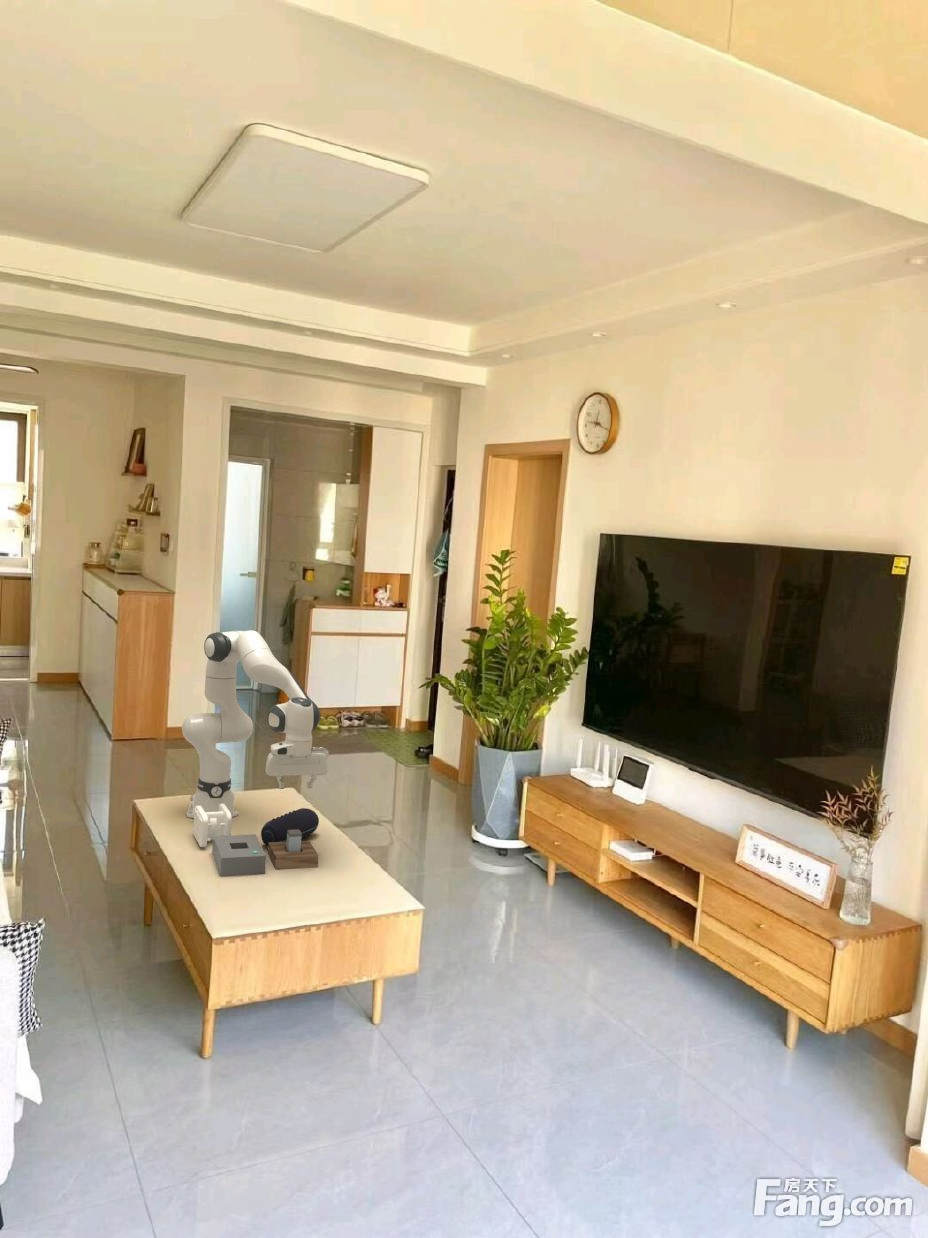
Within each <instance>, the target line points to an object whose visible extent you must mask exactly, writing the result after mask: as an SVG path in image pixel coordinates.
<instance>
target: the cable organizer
mask: <svg viewBox="0 0 928 1238" xmlns="http://www.w3.org/2000/svg"><path fill="white" fill-rule="evenodd" d="M232 819H233V817H232V816H231V813H230V811H229V810H228V809H227V807H226V806H225V804H219V810H218V812H205V811H204V810H203V808H202V807H201V806H195V808H194V818H193V829H192V830H193V831H192V833H193V836H194V838H195V840H196V842H197V844H198V845H199V847H200V848H206V847H207V844H208V842H211V840H213V836H228V835H231V832H232V821H233V820H232Z"/></svg>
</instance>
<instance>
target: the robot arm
mask: <svg viewBox="0 0 928 1238" xmlns="http://www.w3.org/2000/svg"><path fill="white" fill-rule="evenodd" d="M203 650H204V653H205V656H206V658H207V662H206V667H205V681H204V697H205V698H206V700H207V701H208V702H210V703H212V704H213V705H215V706H217V707H219V712H209V713H208V712H203V713H202V712H199V713H196V714H191V715H188V716H187V717H185V719H184V720H183V723H182V725H181V733H182V736H183V738H184V739H185V740H186V741H187V742H188V743H190V744H191V745H192V747H194V749H195V750H196V752H197V754H198V758H199V777H198V780H197V788H196V790H195V793H194V794H190V797H189V800H190V802H189V805H188V808H187V812H186V817H187V818H190V819H194V808H195V806H201V807H202V808H203V810H204V811H205V812H218V810H219V804H225V806H226V807H227V809H228V810H229V811H230V813H231V816H232V818H233V817H236V816H238V815H239V812H238V810H236V809H235V793H234V792H233V791H232V790H231V788H232V779H231V773H232V772H231V770H232V759H231V757H230V756H229V755H228V754H227V753H226V752H224V751H222V750H219V749H217V744H220V743H221V744H223V743H225V744H226V743H239V742H243V741H247V740H249V739H250V738H251V736H252V734H253V732H254V722H253V720H252V718H251V717H250V716H249V715H248V714H247V713H246V712H244V710H243V709H242V708H241V706H240V705H239V702H238V698H237V676H238V675H237V669H238V668H237V667H238V666H237V665H238V663H239V662H240V665H241V666H242V668H243V671H244V672H245V675H247V677H248V678H249V679H250V680H252V682H255V683H259V684H264V685H268V686H273V687H275V688H278V689H280V690H282V691H283V692H284V694H285V695H286V696H287V698H288V701H287V702H284V703H279V704H275V705H273V706H272V707H271V708H270V709H269V711H268V713H267V724H268V727H269V728H270V729H271V730H272V731H273V732H275V733H279V734H280V733H282V734H283V733H284V734H285V739H284V740H282V741H279V742H276V743H273V744H271V745H270V752H269V754H268V755H267V757H266V763H265V774H266V775H267V776H269V777H275V779H276V780H277V782H278V789H279V790H284V789H285V782H282V781H281V780H282V778H283V777H292V776H296V777H297V776H299V777H300V776H310V777H311V778H310V781H307V783H306V787H307V789H313V783H314V784H315V781H316V779H317V776H325V775H327V774H328V759H329V755H330V754H329V750H328V749H327V748H325V747H324V746H321V747H317V746H313V734H312V732H313V731H314V730H315V729H316V728H317V727H318V725H319V724H320V721H321V720H322V719H321V718H322V717H321V716H322V715H321V710H320V708H319V706H317V704H316V703H315V702H314V701H313V700H312V699H311V698H310V697H309V695H308V694H307V692H306V691H305V690H304V688H303V687H302V686H301V684H300V683H299V681H298V679H297V678H296V677H295V675H294V674H293V673H292V671H291V670H290V669H289V668H287V667H286V666H284V665H283V664H282V663H281V662H279V661H278V659H277V658H276V657H275V655H274V654H273V653H272V650H271V648H270V647H269V645H268V643H267V642H266V641H265V639H264V637H263V635H262V634H261V633H260V632H258V631H256V630H253V629H252V630H232V631H230V630H229V631H223V632H219V631H217V632H213V633H210V634H209V635H207V636H206V637H205V640H204V645H203Z"/></svg>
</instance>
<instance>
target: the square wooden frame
mask: <svg viewBox="0 0 928 1238" xmlns="http://www.w3.org/2000/svg"><path fill="white" fill-rule="evenodd" d="M267 855H268V857H269V859H270V861H271V863H272V865H273V867H274V869H275V870H289V869H305V868H306V869H307V868H308V869H309V868H319V854H318V852H317V850H316V848H314V846H313V844H312V843H311V840H301V851H300V852H286V842H269V843H268V847H267Z"/></svg>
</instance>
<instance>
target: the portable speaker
mask: <svg viewBox="0 0 928 1238" xmlns="http://www.w3.org/2000/svg"><path fill="white" fill-rule="evenodd" d="M319 819H320V818H319V816H318V814H317V813H316V811H314V810H313V809H311V808H304V807H303V808H302V807H301V808H298V809H296V810H292V811H289V812H288V813H284V814H281V815H280V816H277V817H276V818H272V819H271V820H268V821H267V822H265V824H264V825H263V827H262V829H261V832H260V837H261V841H262V843H263V844H264V845H265V847H266V848H268V843H269V842H287V830H297V829H299V830H300V831H301V833H302V837H301V840H302V839H304V838H306V837H308V836H310V835H312V834H313V833H315V832H316V830H317V829H318V827H319V825H320V823H319V822H320V820H319Z"/></svg>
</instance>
